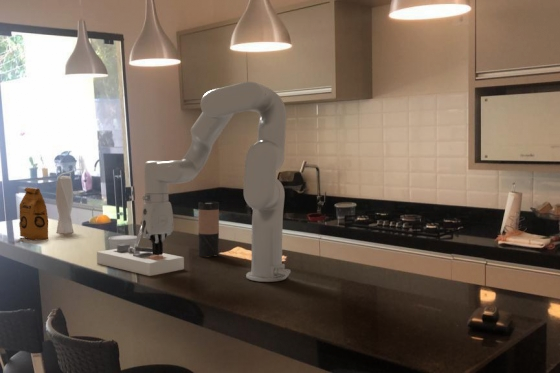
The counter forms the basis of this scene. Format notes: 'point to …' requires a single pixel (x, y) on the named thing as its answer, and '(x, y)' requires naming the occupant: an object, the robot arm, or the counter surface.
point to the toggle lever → (137, 239)
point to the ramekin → (121, 241)
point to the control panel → (140, 262)
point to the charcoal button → (123, 248)
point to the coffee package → (33, 215)
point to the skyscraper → (64, 203)
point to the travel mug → (208, 228)
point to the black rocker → (143, 249)
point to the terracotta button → (156, 257)
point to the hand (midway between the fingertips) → (157, 254)
